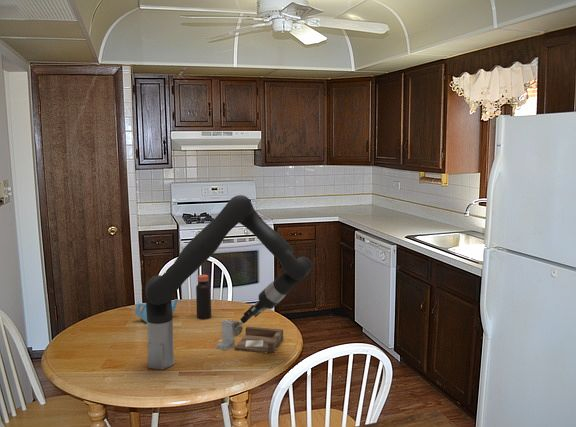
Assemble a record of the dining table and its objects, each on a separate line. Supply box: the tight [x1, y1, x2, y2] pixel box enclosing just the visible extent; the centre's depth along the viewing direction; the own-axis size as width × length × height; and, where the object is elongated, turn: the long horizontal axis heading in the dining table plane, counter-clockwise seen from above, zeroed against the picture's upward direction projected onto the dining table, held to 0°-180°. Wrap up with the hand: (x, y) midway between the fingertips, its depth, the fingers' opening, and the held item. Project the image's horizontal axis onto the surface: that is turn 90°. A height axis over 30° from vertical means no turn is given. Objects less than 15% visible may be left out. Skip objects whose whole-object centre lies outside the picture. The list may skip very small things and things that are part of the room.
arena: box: [233, 326, 284, 354], centre depth 213 cm, size 16×16×4 cm
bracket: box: [216, 319, 236, 351], centre depth 210 cm, size 6×5×10 cm
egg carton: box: [226, 319, 243, 337], centre depth 227 cm, size 11×8×4 cm
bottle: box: [195, 274, 212, 320], centre depth 244 cm, size 7×7×20 cm
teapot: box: [134, 298, 179, 324], centre depth 242 cm, size 15×15×11 cm
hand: (248, 318), depth 205 cm, fingers open, 8 cm apart
